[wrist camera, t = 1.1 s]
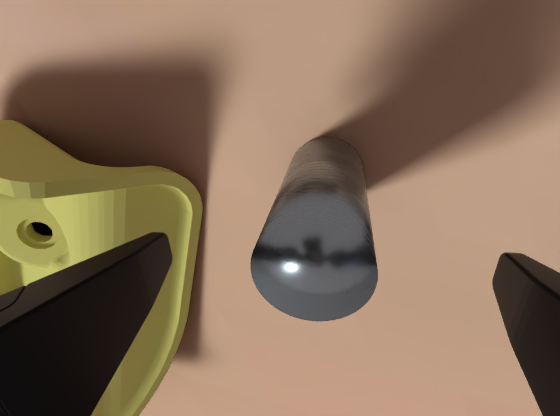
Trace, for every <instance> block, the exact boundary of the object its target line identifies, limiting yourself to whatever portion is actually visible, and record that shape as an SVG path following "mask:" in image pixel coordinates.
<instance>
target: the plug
mask: <svg viewBox="0 0 560 416" xmlns="http://www.w3.org/2000/svg"><path fill="white" fill-rule="evenodd" d="M251 274H252V278H253V281H254V283H255V285H256V287H257V289H258V291H259V292H260V293H261V295H262V296H263V297H264V298H265V299H266V300H267V301H268V302H269V303H270V304H271V305H273V306H274V307H275V308H277V309H278V310H280V311H282V312H284V313H286V314H288V315H290V316H293V317H296V318H300V319H304V320H310V321H329V320H336V319H339V318H343V317H346V316H348V315H350V314H352V313H354V312H356V311H357V310H359V309H360V308H361V307H363V306H364V305H365V304H366V303H367V302H368V300H369V299H370V298H371V296H372V294H373V293H374V291H375V288H376V285H377V280H378V270H377V263H376V256H375V249H374V242H373V234H372V227H371V220H370V213H369V206H368V199H367V192H366V185H365V178H364V170H363V164H362V161H361V159H360V156H359V155H358V153H357V152H356V151H355V149H354V148H352V147H351V146H350V145H349V144H347V143H346V142H344V141H342V140H339V139H335V138H327V137H326V138H318V139H314V140H311V141H309V142H307V143H306V144H304V145H303V146H302V147H301V148H299V150H298V151H297V152H296V153H295V155H294V157H293V159H292V161H291V163H290V166H289V168H288V170H287V173H286V175H285V177H284V180H283V182H282V185H281V187H280V189H279V192H278V194H277V196H276V199H275V201H274V203H273V206H272V208H271V210H270V213H269V215H268V217H267V220H266V222H265V225H264V227H263V229H262V232H261V234H260V236H259V239H258V241H257V243H256V246H255V248H254V250H253V254H252V257H251Z"/></svg>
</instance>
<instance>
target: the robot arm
mask: <svg viewBox="0 0 560 416" xmlns="http://www.w3.org/2000/svg"><path fill="white" fill-rule="evenodd" d="M172 260H173V256H172V251H171V247H170V243H169V238H168V236H167V234H166V233H163V232H151V233H148V234H146V235H144V236H141V237H139V238H136V239H134V240H132V241H129V242H127V243H124V244H122V245H120V246H117V247H115V248H113V249H110V250H108V251H105V252H103V253H101V254H98V255H96V256H93V257H91V258H89V259H86V260H84V261H81V262H79V263H77V264H74V265H72V266H69V267H67V268H65V269H62V270H60V271H58V272H55V273H53V274H50V275H48V276H46V277H43V278H41V279H38V280H36V281H34V282H31V283H29V284H27V286H22V287H19V288H17V289H14V290H12V291H10V292H7V293H5V294H2V295H0V416H91V415H92V413H93V411H94V410H95V408H96V406H97V404H98V402H99V401H100V399H101V397H102V395H103V394H104V392H105V390H106V388H107V387H108V385H109V383H110V381H111V380H112V378H113V376H114V374H115V373H116V371H117V369H118V367H119V366H120V364H121V362H122V360H123V359H124V357H125V355H126V353H127V352H128V350H129V348H130V346H131V344H132V343H133V341H134V339H135V337H136V336H137V334H138V332H139V330H140V329H141V327H142V325H143V323H144V322H145V320H146V318H147V316H148V315H149V313H150V311H151V309H152V307H153V305H154V303H155V301H156V299H157V296H158V294H159V292H160V290H161V287H162V285H163V283H164V280H165V278H166V276H167V273H168V271H169V269H170V267H171V264H172ZM492 283H493V290H494V293H495V296H496V299H497V302H498V306H499V309H500V312H501V315H502V318H503V321H504V325H505V328H506V331H507V334H508V337H509V340H510V343H511V345H512V348H513V350H514V352H515V355H516V357H517V359H518V361H519V364H520V366H521V368H522V370H523V372H524V375H525V377H526V379H527V381H528V384H529V386H530V388H531V390H532V393H533V395H534V397H535V399H536V401H537V404H538V406H539V408H540V410H541V413H542V415H543V416H560V273H559V272H557V271H555V270H553V269H551V268H549V267H547V266H545V265H543V264H541V263H539V262H537V261H536V260H534V259H532V258H530V257H528V256H526V255H524V254H521V253H503V254H501V256H500V258H499V261H498V264H497V267H496V270H495V273H494V277H493V282H492Z"/></svg>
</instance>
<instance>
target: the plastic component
mask: <svg viewBox="0 0 560 416" xmlns="http://www.w3.org/2000/svg"><path fill="white" fill-rule="evenodd" d="M202 211H203V206H202V201H201V196H200V194H199V192H198V191H197V189H196V187H195V186H194V185H193V184H192V183H191V182H190V181H189V180H188V179H186V178H185V177H183V176H181V175H179V174H177V173H175V172H174V171H171V170H169V169H166V168H163V167H159V166H138V167H106V166H99V165H93V164H88V163H85V162H81V161H79V160H77V159H75V158H74V157H72V156H70V155H69V154H67V153H66V152H64V151H63V150H61V149H60V148H58V147H57V146H55V145H54V144H52V143H51V142H49V141H48V140H46V139H44V138H43V137H41V136H40V135H38V134H37V133H35V132H34V131H32V130H31V129H29V128H28V127H26V126H25V125H23V124H22V123H19V122H16V121H13V120H0V295H2V294H5V293H7V292H10V291H12V290H14V289H17V288H19V287H22V286H27V284H29V283H31V282H34V281H36V280H38V279H41V278H43V277H46V276H48V275H50V274H53V273H55V272H58V271H60V270H62V269H65V268H67V267H69V266H72V265H74V264H77V263H79V262H81V261H84V260H86V259H89V258H91V257H93V256H96V255H98V254H101V253H103V252H105V251H108V250H110V249H113V248H115V247H117V246H120V245H122V244H124V243H127V242H129V241H132V240H134V239H136V238H139V237H141V236H144V235H146V234H148V233H151V232H163V233H166V234H167V236H168V238H169V243H170V247H171V251H172V256H173V260H172V264H171V267H170V269H169V271H168V273H167V276H166V278H165V280H164V283H163V285H162V287H161V290H160V292H159V294H158V296H157V299H156V301H155V303H154V305H153V307H152V309H151V311H150V313H149V315H148V316H147V318H146V320H145V322H144V323H143V325H142V327H141V329H140V330H139V332H138V334H137V336H136V337H135V339H134V341H133V343H132V344H131V346H130V348H129V350H128V352H127V353H126V355H125V357H124V359H123V360H122V362H121V364H120V366H119V367H118V369H117V371H116V373H115V374H114V376H113V378H112V380H111V381H110V383H109V385H108V387H107V388H106V390H105V392H104V394H103V395H102V397H101V399H100V401H99V402H98V404H97V406H96V408H95V410H94V411H93V413H92V415H91V416H139V415H140V413H141V412H142V410H143V409H144V408H145V406H146V405H147V403H148V402H149V400H150V399H151V397H152V396H153V394H154V393H155V391H156V390H157V388H158V387H159V385H160V383H161V381H162V380H163V378H164V376H165V374H166V373H167V371H168V369H169V367H170V365H171V363H172V360H173V358H174V356H175V354H176V352H177V349H178V347H179V344H180V341H181V338H182V336H183V332H184V329H185V325H186V322H187V318H188V311H189V304H190V296H191V289H192V282H193V275H194V268H195V261H196V254H197V247H198V240H199V233H200V225H201V218H202ZM32 222H42V223H44V224H46V225H48V226H49V227H50V228H51V229H52V234H53V235H51V236H43V235H40V234H38V233H37V232H35V230H34V228H33V226H32Z"/></svg>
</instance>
